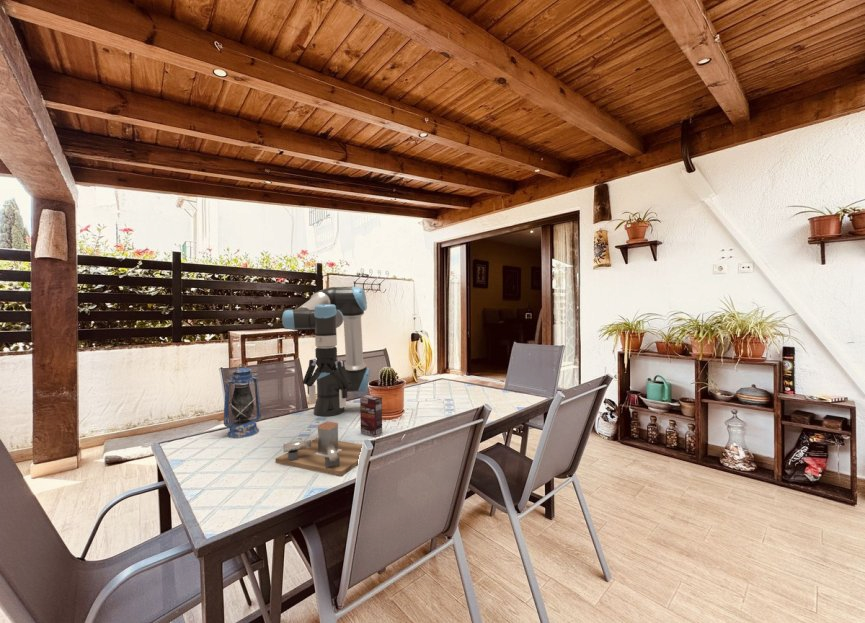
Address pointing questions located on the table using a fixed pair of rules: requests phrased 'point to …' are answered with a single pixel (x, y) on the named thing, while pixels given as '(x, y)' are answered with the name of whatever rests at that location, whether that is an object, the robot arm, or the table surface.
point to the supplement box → (371, 415)
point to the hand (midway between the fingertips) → (327, 405)
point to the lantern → (242, 404)
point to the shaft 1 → (296, 448)
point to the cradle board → (317, 461)
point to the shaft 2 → (331, 457)
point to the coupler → (327, 436)
